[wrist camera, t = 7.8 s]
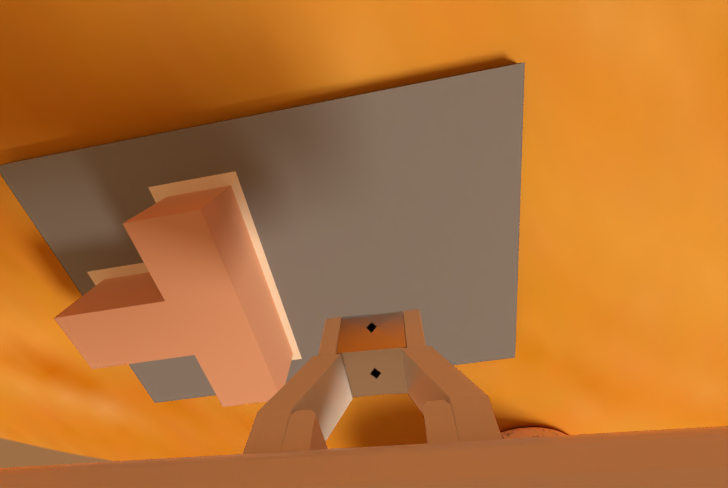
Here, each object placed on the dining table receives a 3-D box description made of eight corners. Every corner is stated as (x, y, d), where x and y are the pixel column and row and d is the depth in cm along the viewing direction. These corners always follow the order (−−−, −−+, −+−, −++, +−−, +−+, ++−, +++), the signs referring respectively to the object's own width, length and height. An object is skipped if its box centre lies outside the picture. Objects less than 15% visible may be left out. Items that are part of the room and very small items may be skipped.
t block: (231, 185, 15) (200, 209, 12) (293, 353, 19) (281, 399, 16) (63, 215, 15) (-1, 245, 12) (161, 371, 20) (129, 418, 17)
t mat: (518, 63, 13) (524, 62, 12) (510, 349, 20) (515, 357, 19) (8, 163, 15) (-6, 166, 14) (160, 394, 21) (154, 402, 21)
